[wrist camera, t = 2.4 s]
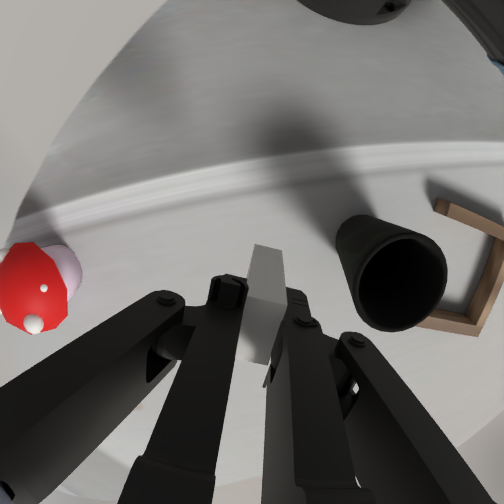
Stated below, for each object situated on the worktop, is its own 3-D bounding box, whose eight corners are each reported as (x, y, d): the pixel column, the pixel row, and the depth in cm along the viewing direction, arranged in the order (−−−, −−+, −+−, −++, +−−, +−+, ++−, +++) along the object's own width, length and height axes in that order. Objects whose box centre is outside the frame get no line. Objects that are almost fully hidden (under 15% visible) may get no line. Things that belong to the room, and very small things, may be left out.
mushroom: (25, 259, 35) (-33, 291, 23) (60, 208, 32) (-9, 233, 21) (69, 317, 37) (19, 364, 25) (111, 275, 34) (54, 323, 23)
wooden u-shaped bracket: (437, 198, 29) (450, 202, 26) (505, 229, 29) (519, 235, 26) (396, 311, 33) (405, 324, 30) (467, 326, 33) (477, 336, 31)
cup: (375, 191, 30) (429, 212, 18) (403, 252, 31) (458, 298, 20) (312, 228, 31) (334, 270, 20) (345, 287, 33) (376, 349, 21)
